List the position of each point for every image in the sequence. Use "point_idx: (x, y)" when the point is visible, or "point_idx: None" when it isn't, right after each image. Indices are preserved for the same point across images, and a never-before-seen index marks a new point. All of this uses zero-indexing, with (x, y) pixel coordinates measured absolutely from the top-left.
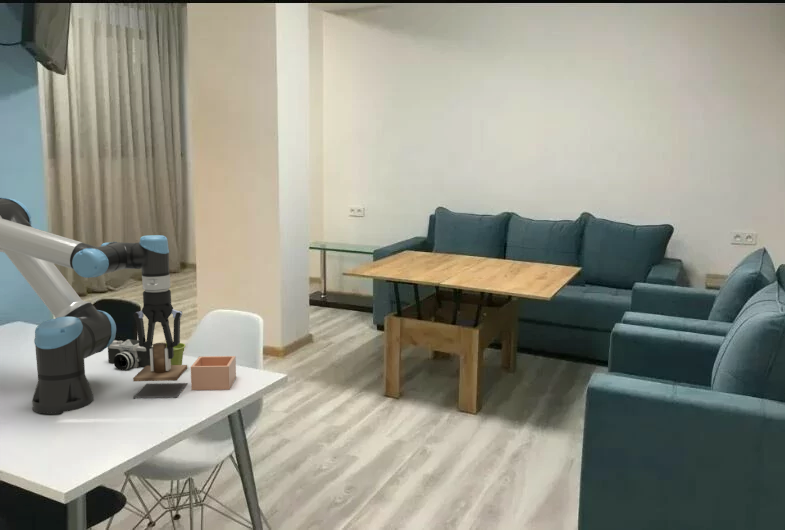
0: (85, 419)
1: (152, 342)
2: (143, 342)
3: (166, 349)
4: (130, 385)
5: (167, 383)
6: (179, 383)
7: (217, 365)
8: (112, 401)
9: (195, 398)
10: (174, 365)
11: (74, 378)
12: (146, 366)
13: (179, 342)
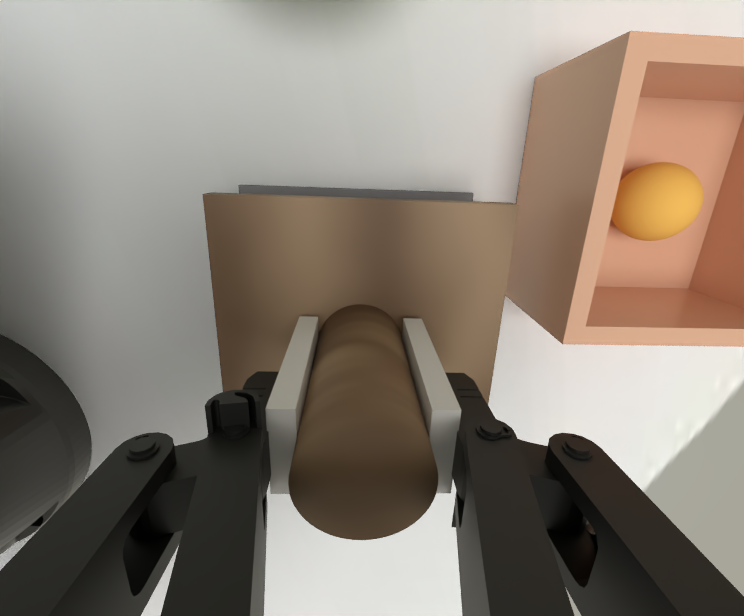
0: (170, 574)
1: (260, 454)
2: (172, 542)
3: (440, 486)
4: (147, 185)
5: (361, 193)
6: (430, 199)
7: (716, 84)
8: (175, 419)
9: (528, 400)
10: (425, 211)
11: None
12: (214, 219)
13: (595, 456)
